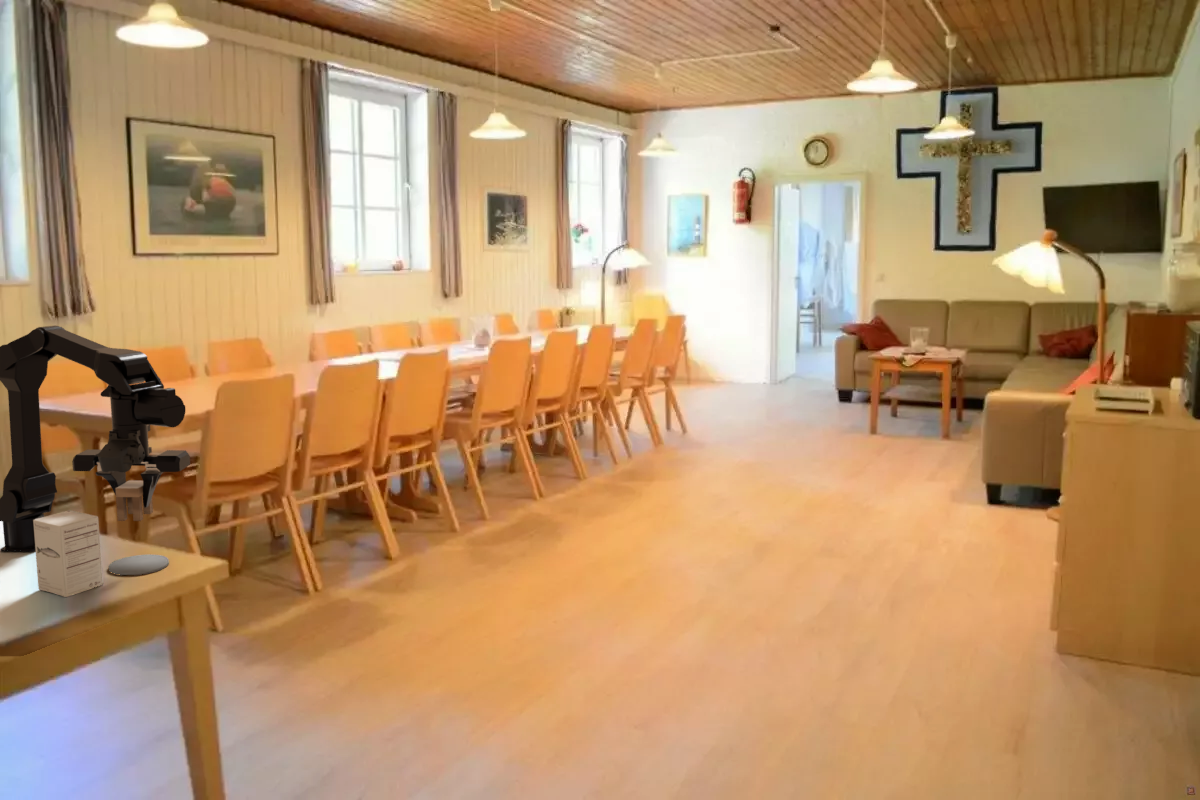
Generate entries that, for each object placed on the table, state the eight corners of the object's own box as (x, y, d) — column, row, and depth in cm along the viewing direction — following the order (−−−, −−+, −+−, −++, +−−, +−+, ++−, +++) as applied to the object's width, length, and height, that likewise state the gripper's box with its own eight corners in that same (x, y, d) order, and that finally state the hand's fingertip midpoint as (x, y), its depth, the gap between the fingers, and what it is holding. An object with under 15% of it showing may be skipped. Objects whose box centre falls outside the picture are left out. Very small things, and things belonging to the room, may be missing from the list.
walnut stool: (130, 512, 185) (128, 480, 184) (152, 512, 185) (151, 480, 184) (117, 520, 179) (115, 488, 178) (140, 521, 179) (138, 488, 178)
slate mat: (98, 575, 178) (98, 572, 178) (123, 557, 188) (122, 554, 188) (155, 575, 179) (155, 572, 179) (177, 557, 189) (177, 554, 188)
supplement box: (37, 590, 171) (31, 519, 169) (77, 577, 177) (71, 508, 175) (64, 598, 167) (58, 525, 165) (104, 585, 174) (99, 514, 172)
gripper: (53, 431, 171) (60, 519, 173) (165, 432, 171) (170, 520, 174) (84, 418, 182) (90, 501, 184) (189, 419, 182) (193, 502, 185)
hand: (134, 506), depth 182 cm, fingers closed on walnut stool, 4 cm apart
